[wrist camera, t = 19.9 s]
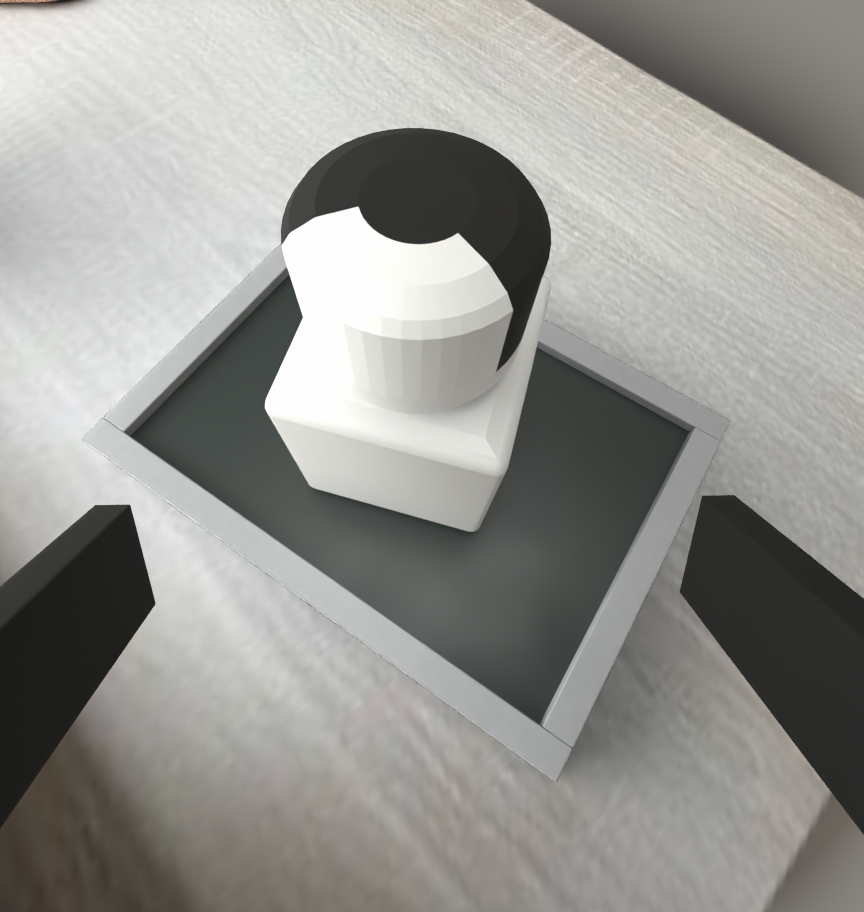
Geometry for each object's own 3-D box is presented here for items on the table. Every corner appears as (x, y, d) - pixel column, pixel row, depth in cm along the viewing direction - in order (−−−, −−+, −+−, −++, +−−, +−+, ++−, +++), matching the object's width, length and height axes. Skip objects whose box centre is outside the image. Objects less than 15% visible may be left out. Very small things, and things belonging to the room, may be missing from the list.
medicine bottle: (362, 346, 24) (316, 60, 12) (514, 385, 23) (609, 124, 12) (306, 488, 21) (184, 288, 10) (477, 536, 20) (553, 382, 9)
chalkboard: (707, 438, 24) (731, 420, 22) (542, 771, 19) (556, 783, 17) (330, 230, 28) (324, 200, 26) (107, 457, 23) (79, 438, 21)
